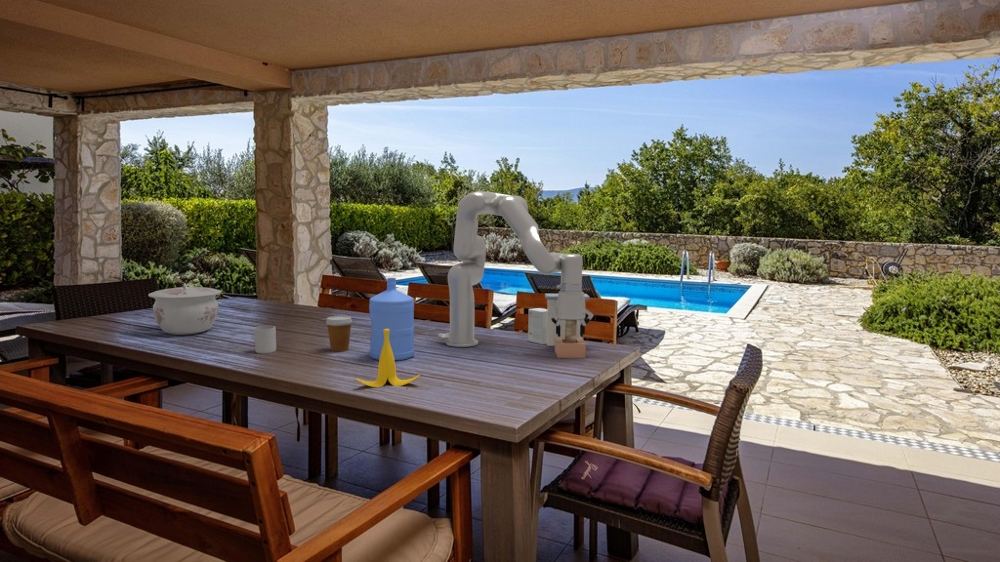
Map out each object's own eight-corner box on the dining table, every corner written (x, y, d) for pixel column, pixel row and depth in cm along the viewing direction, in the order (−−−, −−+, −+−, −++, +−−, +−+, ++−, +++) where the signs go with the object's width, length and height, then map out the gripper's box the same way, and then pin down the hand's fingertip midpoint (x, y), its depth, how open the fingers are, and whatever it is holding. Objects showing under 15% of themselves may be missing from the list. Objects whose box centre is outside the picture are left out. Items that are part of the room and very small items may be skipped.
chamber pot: (185, 341, 249) (182, 288, 246) (134, 335, 259) (131, 285, 256) (238, 328, 275) (236, 281, 272) (190, 324, 285) (187, 278, 282)
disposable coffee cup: (343, 353, 230) (343, 320, 229) (321, 351, 233) (320, 319, 232) (357, 348, 239) (357, 316, 238) (335, 346, 242) (335, 315, 241)
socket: (557, 357, 227) (557, 343, 226) (554, 351, 237) (554, 338, 236) (585, 357, 227) (585, 344, 226) (581, 351, 237) (581, 338, 236)
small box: (553, 342, 252) (553, 310, 251) (541, 344, 248) (541, 311, 247) (539, 339, 258) (539, 307, 257) (527, 341, 254) (528, 309, 253)
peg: (565, 352, 229) (566, 319, 228) (563, 350, 233) (565, 318, 232) (576, 353, 230) (577, 320, 228) (574, 350, 234) (575, 318, 232)
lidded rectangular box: (545, 349, 239) (546, 296, 237) (544, 344, 247) (545, 293, 245) (588, 349, 240) (589, 296, 237) (585, 345, 248) (586, 293, 245)
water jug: (423, 356, 227) (423, 278, 224) (387, 363, 216) (386, 282, 212) (396, 349, 238) (395, 275, 234) (361, 356, 226) (359, 278, 223)
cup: (251, 353, 229) (250, 329, 228) (264, 347, 239) (263, 324, 238) (271, 354, 228) (270, 329, 227) (282, 347, 238) (282, 324, 237)
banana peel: (353, 390, 185) (352, 333, 183) (383, 374, 203) (383, 322, 201) (405, 395, 180) (405, 337, 179) (431, 378, 199) (431, 325, 197)
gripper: (548, 289, 225) (547, 338, 227) (597, 289, 225) (595, 338, 227) (546, 286, 232) (545, 334, 234) (593, 287, 233) (592, 334, 235)
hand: (570, 335), depth 231 cm, fingers open, 7 cm apart
